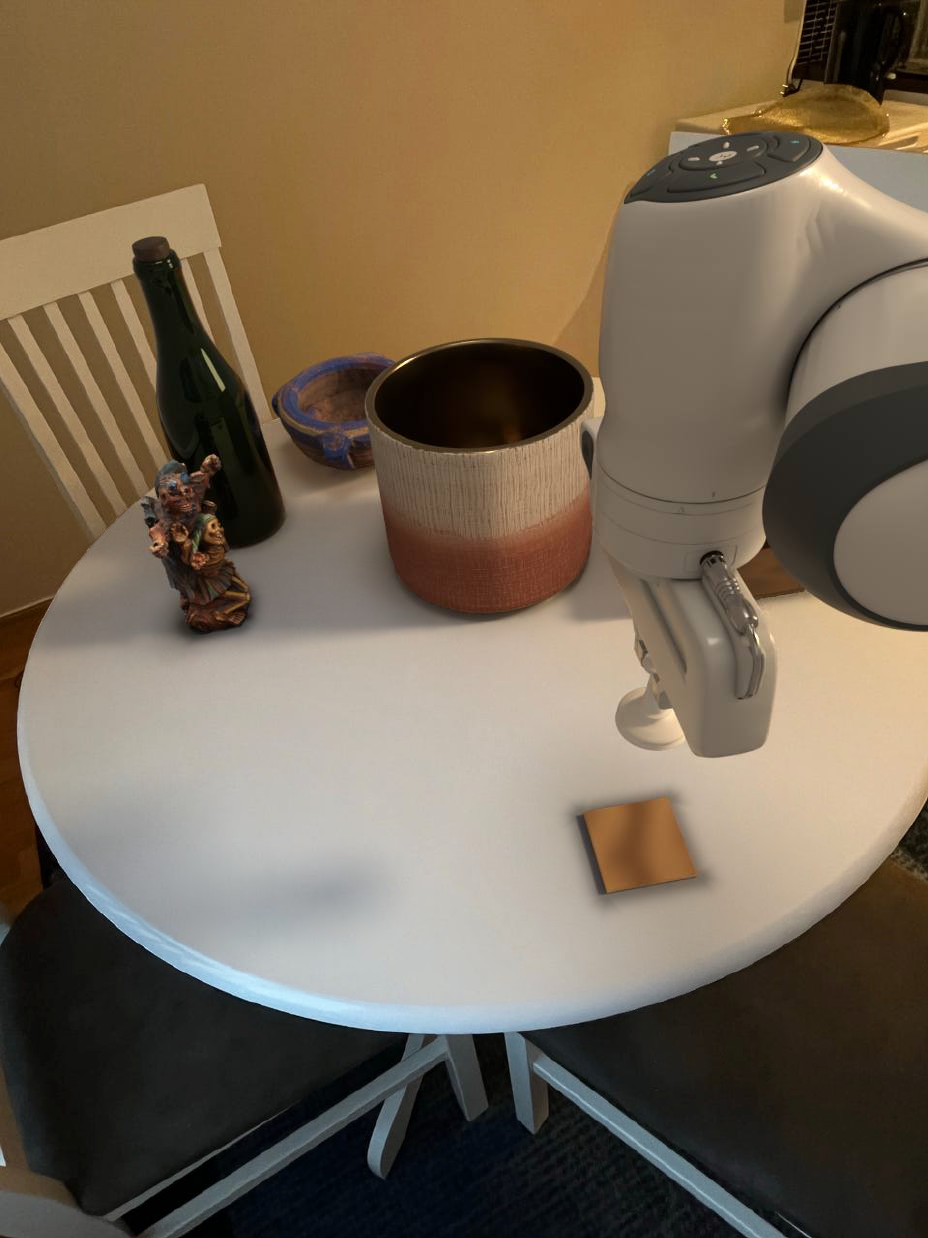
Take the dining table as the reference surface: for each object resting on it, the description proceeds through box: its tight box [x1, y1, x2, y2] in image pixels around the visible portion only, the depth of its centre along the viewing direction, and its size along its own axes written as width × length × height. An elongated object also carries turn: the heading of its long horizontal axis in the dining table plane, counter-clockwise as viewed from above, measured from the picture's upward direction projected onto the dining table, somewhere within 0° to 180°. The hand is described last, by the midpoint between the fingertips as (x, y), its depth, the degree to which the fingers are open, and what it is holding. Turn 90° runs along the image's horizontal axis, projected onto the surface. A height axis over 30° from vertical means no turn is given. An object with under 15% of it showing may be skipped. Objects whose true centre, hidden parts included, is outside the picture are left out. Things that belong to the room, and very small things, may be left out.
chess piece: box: [614, 653, 687, 752], centre depth 51 cm, size 5×5×10 cm
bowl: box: [271, 351, 398, 472], centre depth 105 cm, size 18×18×10 cm
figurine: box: [140, 454, 253, 635], centre depth 82 cm, size 11×9×18 cm
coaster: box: [582, 796, 698, 894], centre depth 65 cm, size 7×7×1 cm
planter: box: [365, 337, 595, 614], centre depth 85 cm, size 22×22×20 cm
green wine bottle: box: [131, 235, 286, 547], centre depth 89 cm, size 10×10×33 cm
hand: (659, 678), depth 52 cm, fingers closed on chess piece
